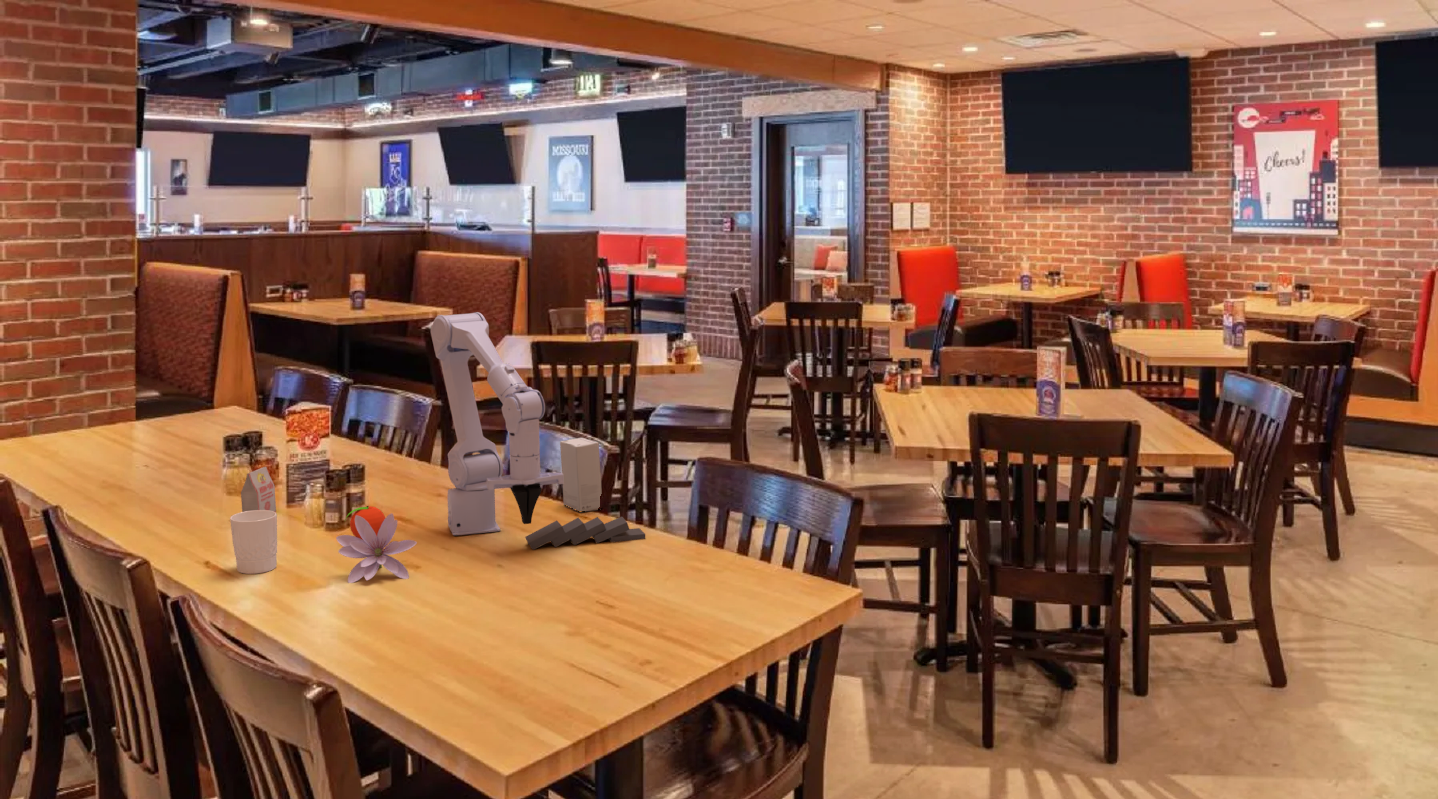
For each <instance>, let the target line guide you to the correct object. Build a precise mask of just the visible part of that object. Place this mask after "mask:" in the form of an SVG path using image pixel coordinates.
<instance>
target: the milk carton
mask: <svg viewBox="0 0 1438 799" xmlns="http://www.w3.org/2000/svg"><path fill="white" fill-rule="evenodd" d="M267 468H268V467H267V466H262V467H261V468H258V469H256V470H253V471H251V472H248V473H247V474H246V477H245V478H246V479H245V481H244V483H243V486H242V488H241V491H240V499H241V512H245V511H253V510H269V511H274V512H276V513H277V506H276V502H277V501H276V487H275V484H274V481H273V480H272V478H271V476H270V473H269V471H268V469H267Z"/></svg>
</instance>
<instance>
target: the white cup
mask: <svg viewBox="0 0 1438 799" xmlns="http://www.w3.org/2000/svg"><path fill="white" fill-rule="evenodd" d="M277 518H278V515H277V511H276V512H274V511H269V510H253V511H245V512H242V511H240V512H237V513H234V514H233V515H231V516H230V517H229V520H230V521H229V522H230V527H231V536H232V544H233V545H232V546H233V551H234V552H233V553H234V557H235V563H236V564H235V565H236V570H237V572H239V573H241V574H247V575H250V574H251V575H254V574H255V575H256V574H263V573H267V572H270V571H272V570H274V569H276V568H277V566H278V565H277V562H278V561H277V553H278V524H277V522H278V520H277Z"/></svg>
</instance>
